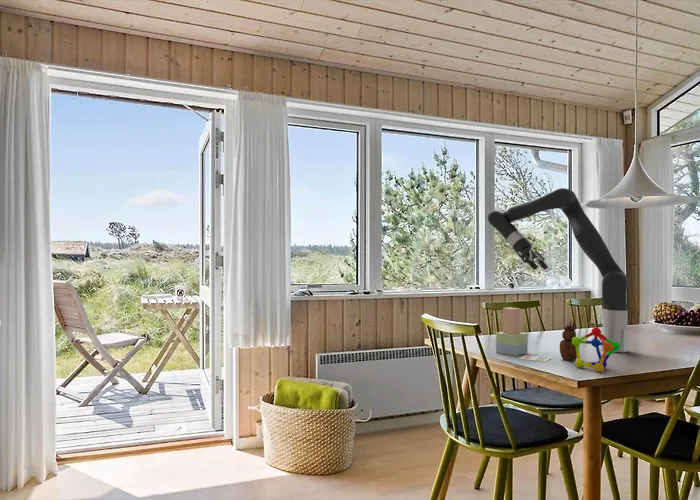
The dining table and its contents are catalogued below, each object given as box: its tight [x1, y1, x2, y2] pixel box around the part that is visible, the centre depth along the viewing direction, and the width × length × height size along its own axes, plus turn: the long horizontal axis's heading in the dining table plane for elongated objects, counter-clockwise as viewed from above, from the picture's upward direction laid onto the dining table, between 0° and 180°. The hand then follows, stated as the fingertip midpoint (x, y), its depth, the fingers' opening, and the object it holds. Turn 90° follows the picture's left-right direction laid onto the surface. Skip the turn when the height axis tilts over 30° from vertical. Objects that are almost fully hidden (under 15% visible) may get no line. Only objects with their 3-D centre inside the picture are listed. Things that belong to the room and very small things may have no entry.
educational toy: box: [572, 326, 620, 373], centre depth 196 cm, size 16×13×15 cm
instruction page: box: [518, 354, 552, 363], centre depth 213 cm, size 10×8×1 cm
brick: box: [502, 306, 522, 334], centre depth 225 cm, size 5×5×10 cm
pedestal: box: [495, 331, 529, 357], centre depth 224 cm, size 9×9×8 cm
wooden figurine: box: [559, 319, 580, 362], centre depth 212 cm, size 7×6×15 cm
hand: (541, 268), depth 247 cm, fingers open, 8 cm apart
